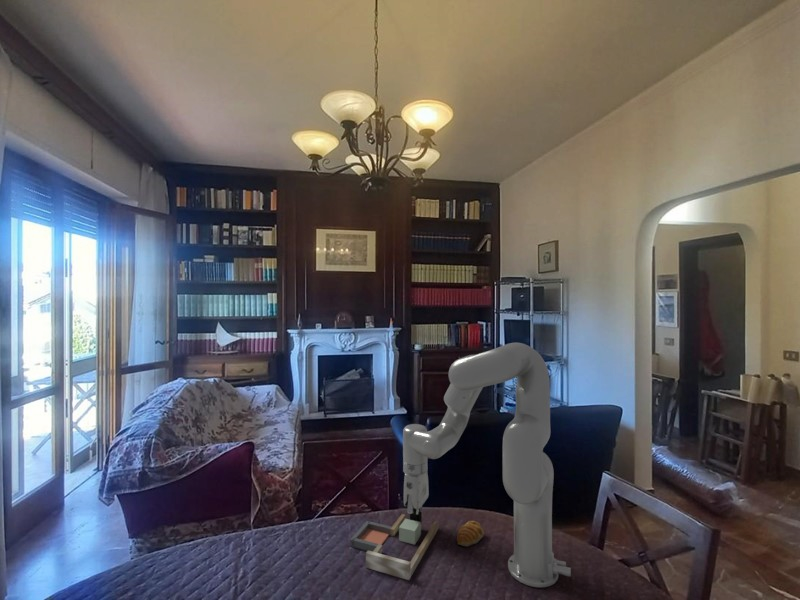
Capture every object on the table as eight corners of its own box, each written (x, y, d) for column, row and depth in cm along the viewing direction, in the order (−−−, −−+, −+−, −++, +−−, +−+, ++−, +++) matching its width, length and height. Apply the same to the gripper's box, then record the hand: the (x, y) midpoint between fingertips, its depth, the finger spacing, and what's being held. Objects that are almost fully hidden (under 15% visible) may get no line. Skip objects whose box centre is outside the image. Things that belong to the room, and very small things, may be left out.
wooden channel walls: (438, 528, 126) (438, 515, 126) (408, 580, 104) (408, 564, 104) (402, 520, 131) (401, 507, 131) (366, 567, 109) (365, 552, 109)
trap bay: (392, 533, 124) (391, 526, 124) (376, 553, 115) (376, 546, 115) (367, 527, 128) (367, 520, 128) (350, 546, 118) (350, 539, 118)
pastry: (471, 552, 115) (471, 538, 115) (450, 543, 119) (450, 530, 119) (485, 535, 123) (485, 523, 123) (465, 528, 127) (465, 516, 127)
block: (420, 535, 123) (420, 522, 123) (414, 544, 118) (414, 531, 118) (405, 531, 125) (405, 518, 125) (399, 540, 120) (398, 527, 120)
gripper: (417, 478, 117) (418, 541, 117) (434, 458, 131) (435, 515, 131) (394, 473, 120) (394, 535, 120) (413, 455, 134) (413, 510, 134)
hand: (415, 524), depth 126 cm, fingers closed
